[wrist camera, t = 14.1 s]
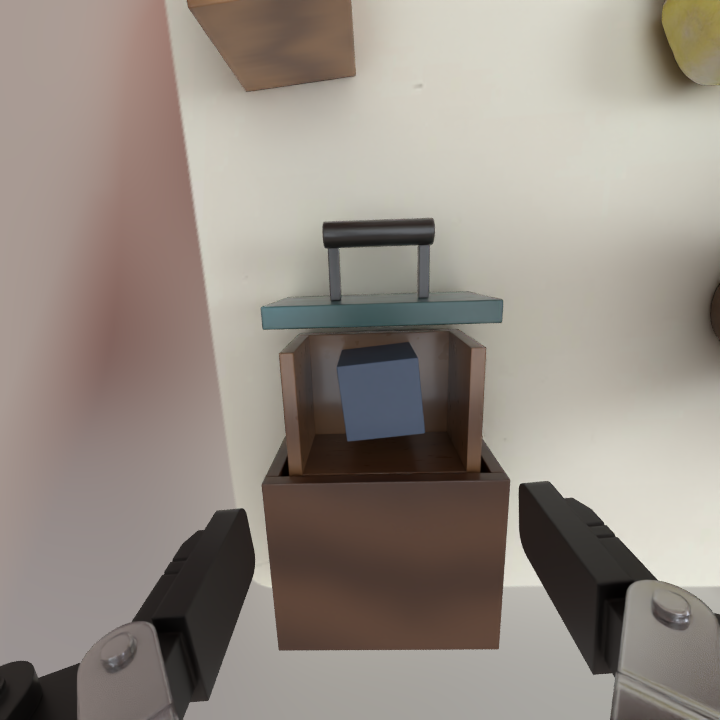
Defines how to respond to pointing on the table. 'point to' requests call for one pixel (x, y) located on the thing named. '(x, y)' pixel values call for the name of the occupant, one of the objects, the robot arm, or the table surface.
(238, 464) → the table surface
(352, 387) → the block
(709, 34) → the fruit
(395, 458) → the drawer
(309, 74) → the cube
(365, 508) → the cabinet
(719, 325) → the flower pot
